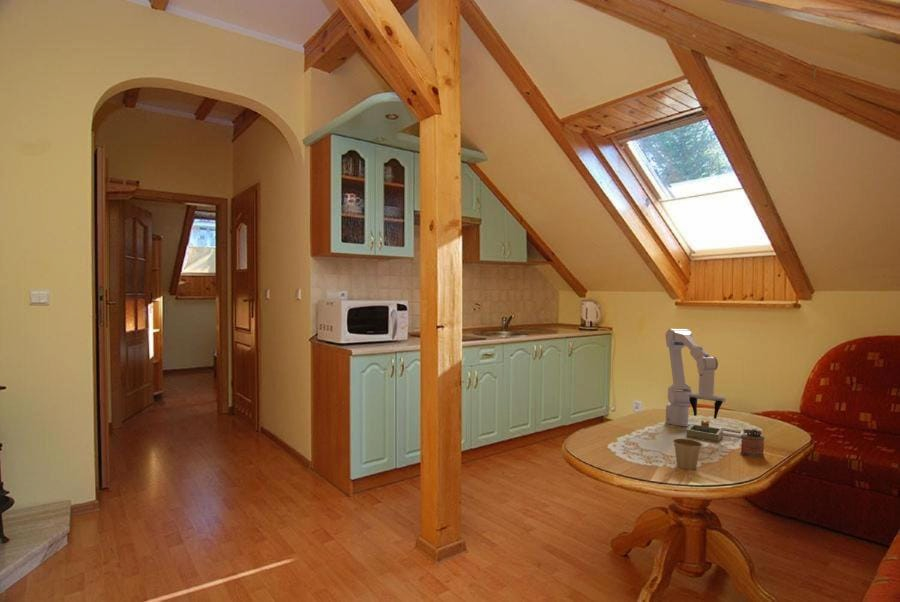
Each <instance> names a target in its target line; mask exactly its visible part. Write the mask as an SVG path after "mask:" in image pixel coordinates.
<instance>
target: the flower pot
mask: <svg viewBox="0 0 900 602" xmlns="http://www.w3.org/2000/svg"><path fill="white" fill-rule="evenodd" d="M672 442H673V446H674V449H675V450H674V452H675V461H676V466H677V467H679V468H680V469H683V470H689V471H690V470H697V466H698V461H699V455H700V453H701V452H700V451H701V450H702V447H703V443H701V442H700V441H697V440H694V439H690V438H674V439H672Z"/></svg>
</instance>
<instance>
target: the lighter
mask: <svg viewBox="0 0 900 602" xmlns="http://www.w3.org/2000/svg"><path fill="white" fill-rule="evenodd" d="M742 430H743V432H744V435H741V437H742V438H741V447H740V449H741V450H740V456H742V457H746V458H747V457H748V458H765V454H764V446H765V445H764V443H765V438H766V437H765V436H763V435H762V430H760V429H755V428H751V429H750V428H748V429H747V428H744V429H742Z"/></svg>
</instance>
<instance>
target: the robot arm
mask: <svg viewBox="0 0 900 602" xmlns="http://www.w3.org/2000/svg"><path fill="white" fill-rule="evenodd" d="M664 337H665V343H666V347H667V348H668V352H669V360H670V361H669V362H670V368H671V376H672V382H673V383H672V384H671V385H670V386H669V387H668V388H667V401H668V403H667V404H666V407H665V422H664V424H667V425H674V426H681V427H688V426H689V425H690V424H691V422H690V421H689V411H690V406H691V407H692V411H693V416H695V417H696V416H697V414H698V409H697V408H698V400H705V401H712V402H714V413H713V420H715V419H717V418H718V414H719V411H720V409H721V406H722V405H723V403H726V400H727V399H726V396H720V395H715V394H714V393H715V391H714V390H715V371H716V370H717V369H718V366H719V361H718V359H717V357H716V356H714V355H713V356H712V355H710V354H709V353H708V352H707V351H706V350H705V349H704V347H703V346H701V345H697V342H695V340H694V338H693V333H692V331H691V330H690V329H688V328H685V329H684V328H668V329H667V331H666V333H665V336H664ZM685 347H686V348H688V350H689V352H690V353H689V355H690V356H691V357H692V358H693V360H695V362H696V368H697V372H698V375H699V376H698V393H697V392H695V393H694V392H692V388H691V387H690V386H689V385H688V384H686V378H685V371H684V370H685V369H684V364H683V355H682V350H683V348H685Z"/></svg>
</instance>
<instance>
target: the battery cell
mask: <svg viewBox="0 0 900 602" xmlns="http://www.w3.org/2000/svg"><path fill="white" fill-rule="evenodd" d="M700 425H701V432H707V433H709V427H710V421H709V420H707V419H701V420H700Z"/></svg>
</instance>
